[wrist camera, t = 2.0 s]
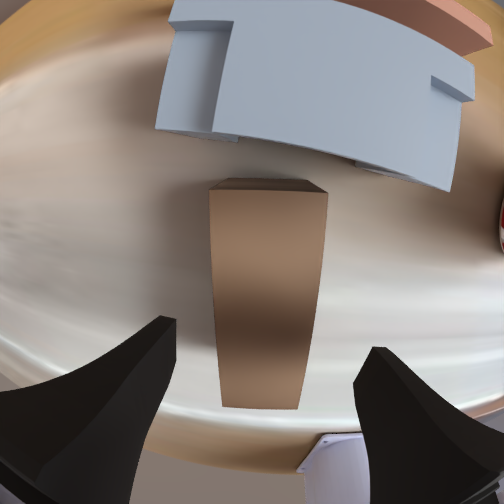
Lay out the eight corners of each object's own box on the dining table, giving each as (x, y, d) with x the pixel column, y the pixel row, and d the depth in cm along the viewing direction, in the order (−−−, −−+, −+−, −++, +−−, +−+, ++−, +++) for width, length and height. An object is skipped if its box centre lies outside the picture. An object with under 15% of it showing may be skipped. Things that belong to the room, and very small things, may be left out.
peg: (292, 351, 17) (297, 409, 13) (232, 349, 17) (222, 406, 13) (307, 180, 13) (328, 193, 9) (229, 177, 14) (209, 189, 9)
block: (388, 176, 13) (462, 196, 7) (198, 138, 13) (143, 127, 7) (400, 91, 11) (474, 65, 5) (215, 50, 11) (179, -13, 5)
